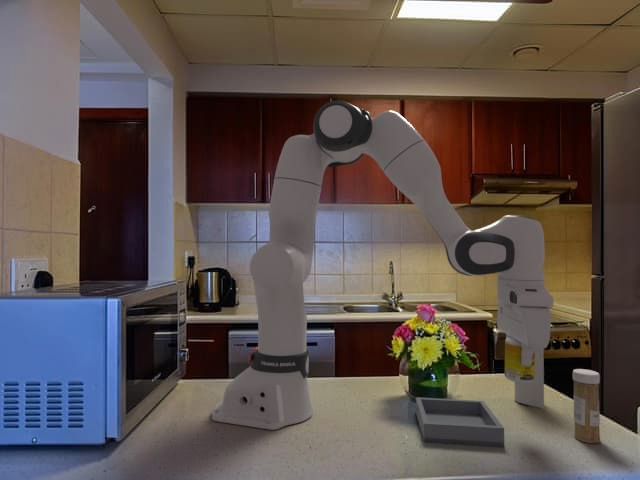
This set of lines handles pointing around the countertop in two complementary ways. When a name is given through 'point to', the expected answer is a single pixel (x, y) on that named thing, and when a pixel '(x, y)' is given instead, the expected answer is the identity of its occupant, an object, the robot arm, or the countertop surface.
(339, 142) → the robot arm
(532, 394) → the paper towel roll
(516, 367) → the supplement bottle
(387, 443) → the countertop surface
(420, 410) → the tray
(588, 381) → the spice jar
